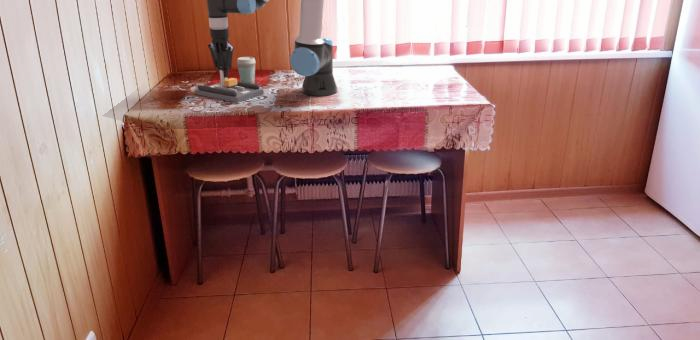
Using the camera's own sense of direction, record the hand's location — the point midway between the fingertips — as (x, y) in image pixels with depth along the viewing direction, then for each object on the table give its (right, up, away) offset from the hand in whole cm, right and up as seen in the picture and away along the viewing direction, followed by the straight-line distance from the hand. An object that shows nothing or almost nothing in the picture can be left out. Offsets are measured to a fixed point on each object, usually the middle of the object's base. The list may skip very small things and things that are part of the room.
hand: (224, 84), depth 219 cm
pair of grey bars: (+2, -2, 0) cm, 3 cm away
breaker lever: (+3, -2, -1) cm, 4 cm away
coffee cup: (+7, +3, +16) cm, 18 cm away
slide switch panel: (+2, -4, 0) cm, 5 cm away
